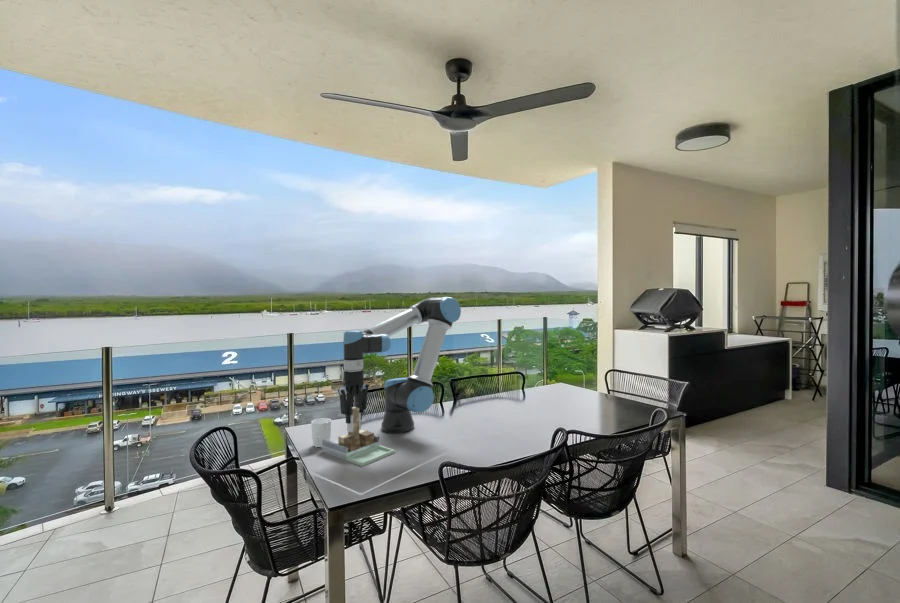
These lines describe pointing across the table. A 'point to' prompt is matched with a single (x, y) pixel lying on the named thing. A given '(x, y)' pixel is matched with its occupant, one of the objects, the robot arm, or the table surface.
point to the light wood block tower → (355, 427)
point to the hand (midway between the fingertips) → (354, 429)
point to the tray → (370, 455)
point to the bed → (345, 448)
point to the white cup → (320, 431)
